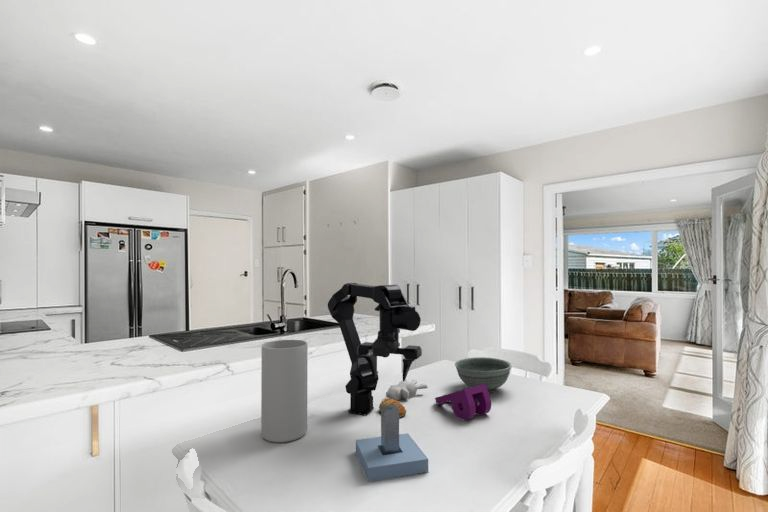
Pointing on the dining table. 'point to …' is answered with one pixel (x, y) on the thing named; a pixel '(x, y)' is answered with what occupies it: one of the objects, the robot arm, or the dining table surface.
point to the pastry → (397, 403)
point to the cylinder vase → (284, 390)
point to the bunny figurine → (404, 390)
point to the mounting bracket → (468, 401)
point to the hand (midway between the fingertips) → (389, 379)
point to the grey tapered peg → (389, 429)
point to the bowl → (483, 372)
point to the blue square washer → (390, 458)
